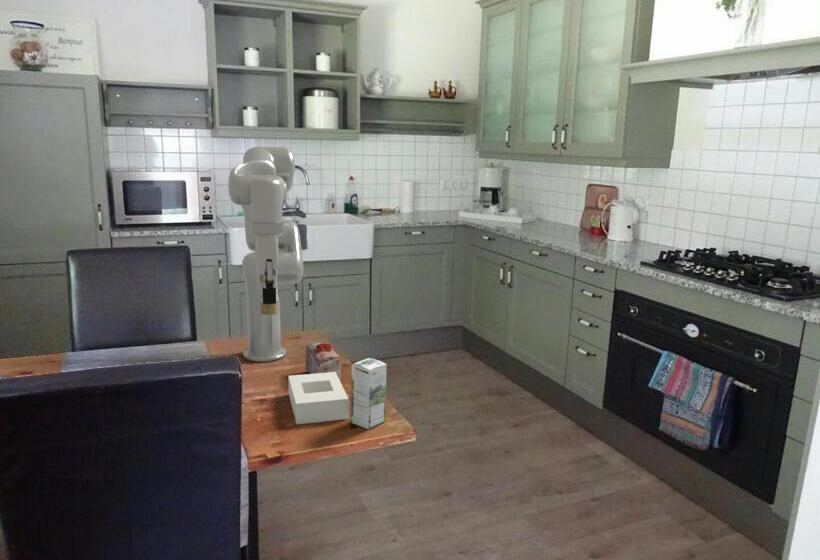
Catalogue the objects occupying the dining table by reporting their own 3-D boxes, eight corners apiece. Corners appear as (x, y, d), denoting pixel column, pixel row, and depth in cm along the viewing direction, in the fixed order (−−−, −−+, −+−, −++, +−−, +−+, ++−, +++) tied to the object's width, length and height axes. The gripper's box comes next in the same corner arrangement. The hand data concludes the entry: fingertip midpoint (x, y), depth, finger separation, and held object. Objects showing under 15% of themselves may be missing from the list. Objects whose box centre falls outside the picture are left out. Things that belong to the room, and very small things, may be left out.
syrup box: (367, 415, 145) (367, 356, 142) (386, 422, 141) (386, 362, 138) (350, 422, 141) (350, 362, 138) (369, 430, 137) (369, 369, 134)
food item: (345, 384, 164) (345, 349, 162) (316, 389, 160) (316, 353, 158) (327, 368, 176) (327, 335, 174) (300, 372, 172) (300, 338, 170)
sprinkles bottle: (281, 314, 154) (280, 261, 152) (263, 316, 152) (262, 263, 149) (274, 309, 158) (273, 258, 155) (257, 312, 156) (255, 260, 153)
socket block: (288, 394, 156) (288, 375, 155) (335, 390, 160) (335, 371, 159) (296, 424, 139) (296, 403, 138) (348, 418, 143) (348, 398, 142)
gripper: (249, 224, 157) (252, 293, 161) (252, 234, 141) (255, 310, 145) (279, 224, 159) (281, 292, 163) (285, 233, 143) (287, 309, 148)
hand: (268, 300), depth 154 cm, fingers closed on sprinkles bottle, 4 cm apart
